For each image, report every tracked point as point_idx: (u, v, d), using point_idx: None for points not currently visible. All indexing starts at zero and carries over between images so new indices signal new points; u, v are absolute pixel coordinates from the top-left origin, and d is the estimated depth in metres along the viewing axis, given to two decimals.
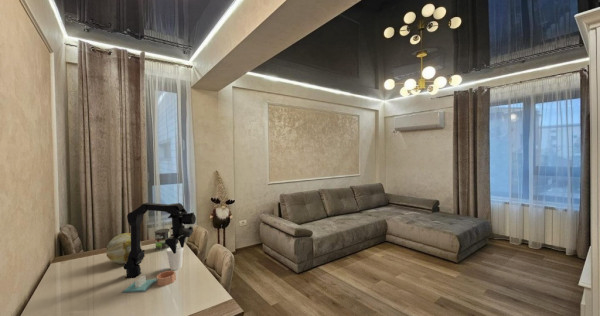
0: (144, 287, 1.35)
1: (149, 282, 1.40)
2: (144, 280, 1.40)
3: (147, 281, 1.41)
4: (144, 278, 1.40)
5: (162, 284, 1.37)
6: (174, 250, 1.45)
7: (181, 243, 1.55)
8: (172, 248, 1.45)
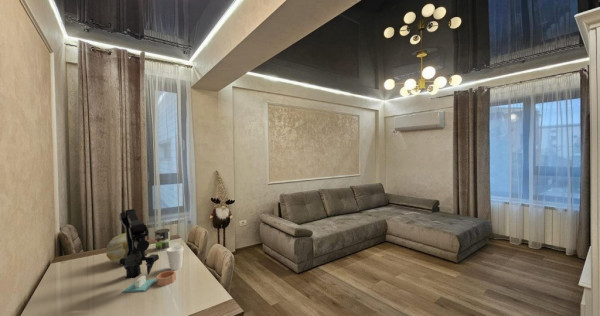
0: (144, 287, 1.35)
1: (149, 282, 1.40)
2: (144, 280, 1.40)
3: (147, 281, 1.41)
4: (144, 278, 1.40)
5: (162, 284, 1.37)
6: None
7: None
8: None
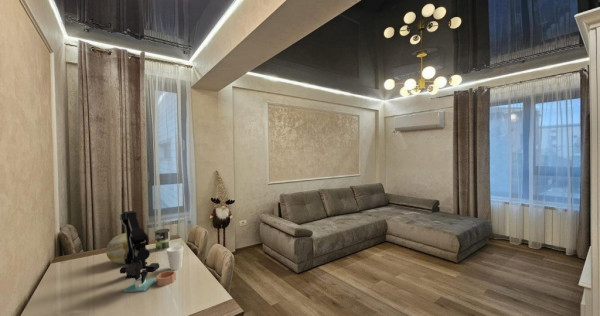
0: (144, 287, 1.35)
1: (149, 282, 1.40)
2: None
3: (147, 281, 1.41)
4: None
5: (162, 284, 1.37)
6: None
7: None
8: None
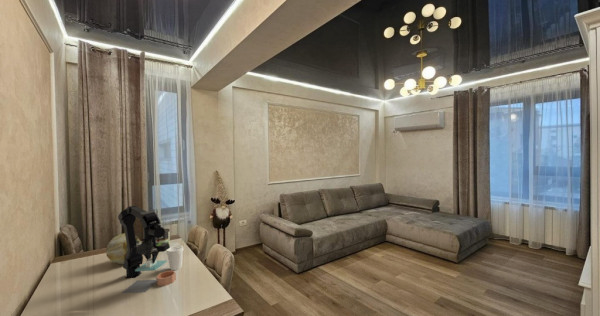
0: (155, 267, 1.36)
1: (159, 263, 1.41)
2: (155, 261, 1.41)
3: (157, 262, 1.42)
4: None
5: (162, 284, 1.37)
6: None
7: None
8: None
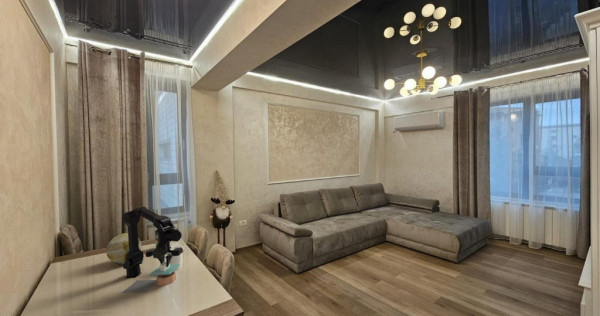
0: (169, 271, 1.38)
1: (173, 266, 1.43)
2: None
3: (171, 265, 1.45)
4: None
5: (162, 284, 1.37)
6: None
7: None
8: None
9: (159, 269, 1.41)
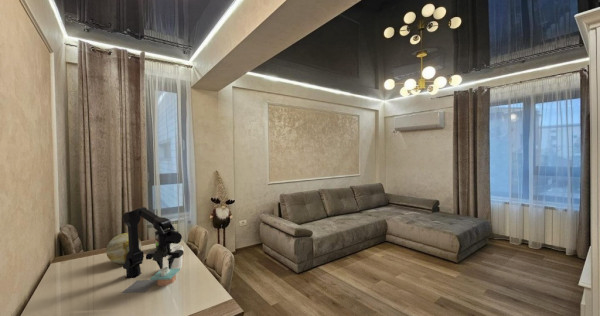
0: (169, 275, 1.38)
1: (173, 271, 1.43)
2: (168, 269, 1.43)
3: (171, 270, 1.45)
4: (168, 267, 1.43)
5: (162, 284, 1.37)
6: None
7: None
8: None
9: (159, 274, 1.41)
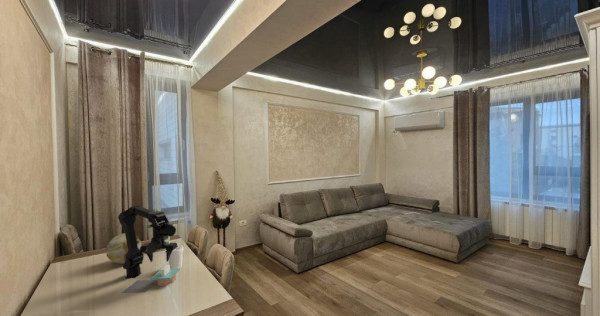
0: (169, 275, 1.38)
1: (173, 271, 1.43)
2: (168, 269, 1.43)
3: (171, 270, 1.45)
4: (168, 267, 1.43)
5: (162, 284, 1.37)
6: None
7: None
8: None
9: (159, 274, 1.41)
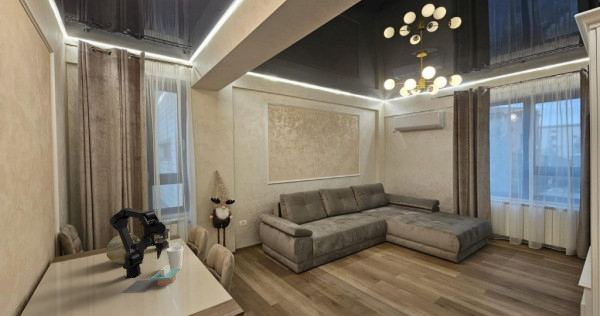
0: (169, 275, 1.38)
1: (173, 271, 1.43)
2: (168, 269, 1.43)
3: (171, 270, 1.45)
4: (168, 267, 1.43)
5: (162, 284, 1.37)
6: None
7: None
8: None
9: (159, 274, 1.41)
